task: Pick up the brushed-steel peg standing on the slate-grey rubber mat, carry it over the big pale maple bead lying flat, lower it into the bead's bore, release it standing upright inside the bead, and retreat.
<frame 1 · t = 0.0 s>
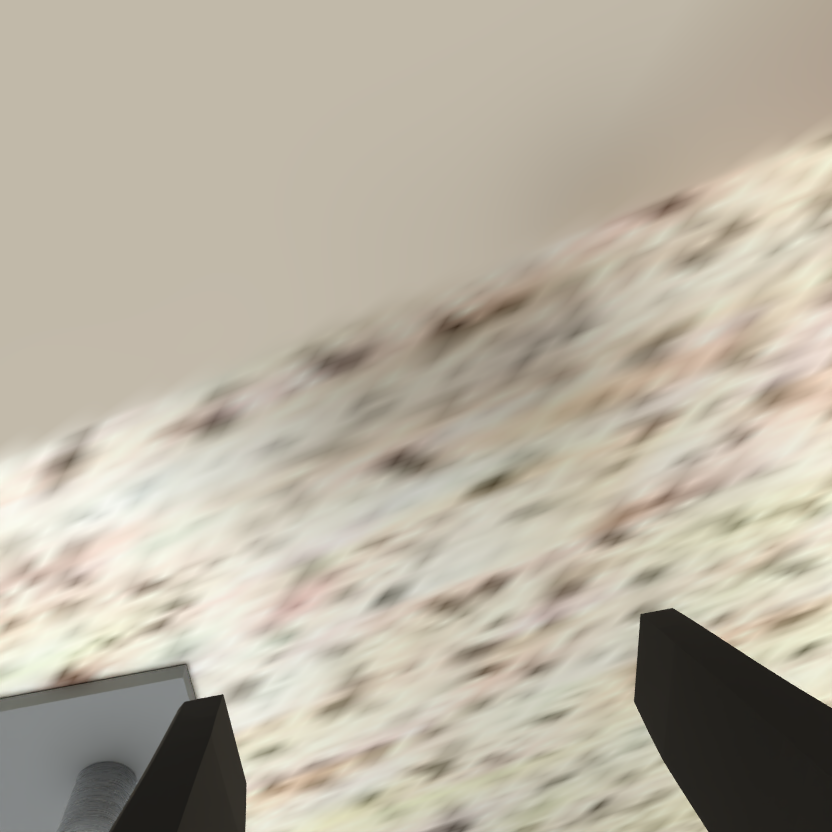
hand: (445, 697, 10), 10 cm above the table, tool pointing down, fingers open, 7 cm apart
steel peg: (106, 781, 22), point 1 cm above the table, touching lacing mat
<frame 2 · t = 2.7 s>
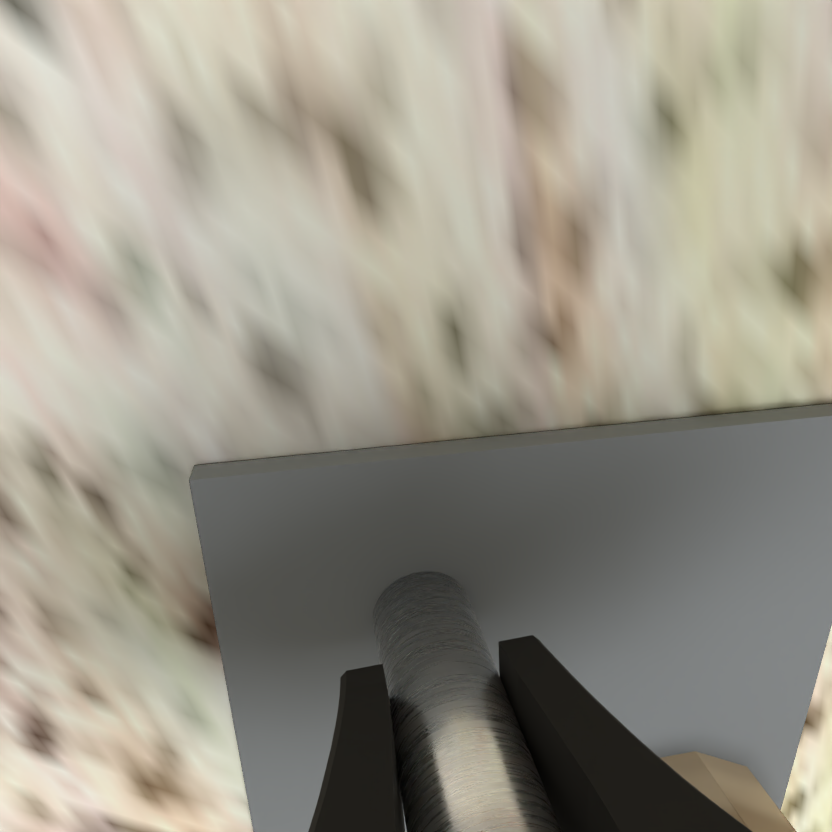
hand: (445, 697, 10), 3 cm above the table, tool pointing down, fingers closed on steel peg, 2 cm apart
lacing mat: (539, 743, 15), on the table
steel peg: (421, 612, 12), point 1 cm above the table, touching gripper, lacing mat
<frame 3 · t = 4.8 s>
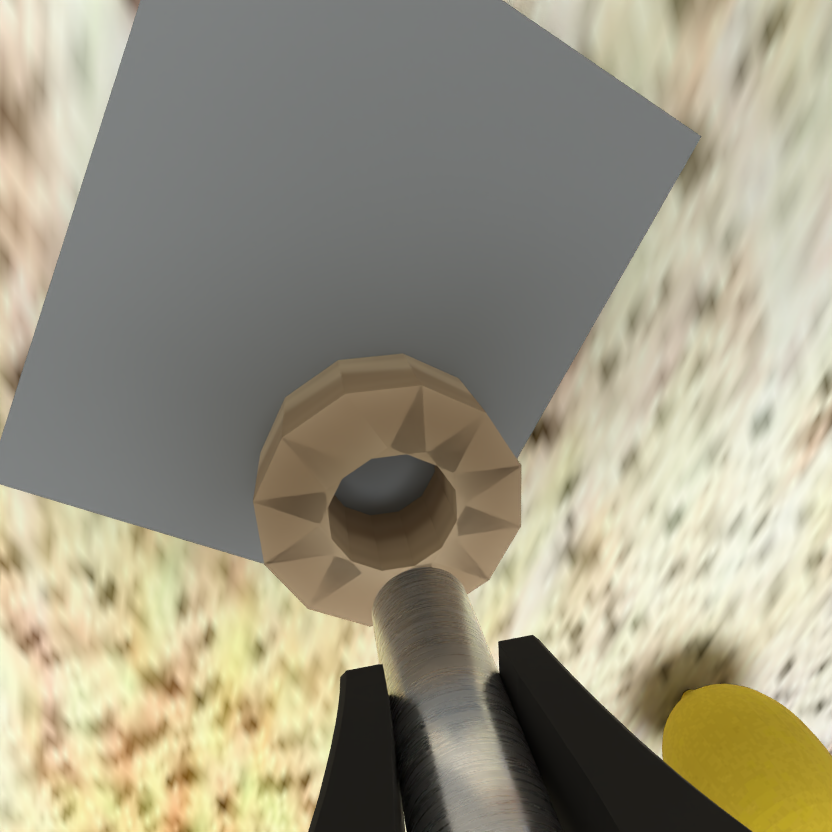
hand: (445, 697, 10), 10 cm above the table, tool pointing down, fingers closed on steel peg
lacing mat: (343, 304, 17), on the table
steel peg: (420, 608, 12), point 7 cm above the table, touching gripper
maple bead: (380, 465, 19), point 1 cm above the table, touching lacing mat
lemon: (684, 689, 26), on the table
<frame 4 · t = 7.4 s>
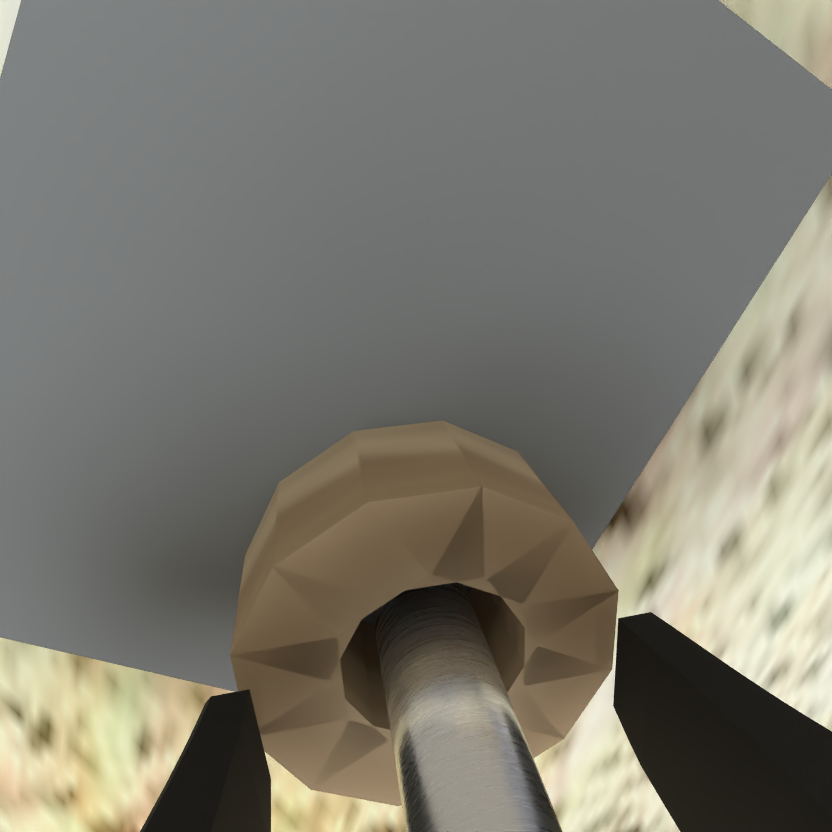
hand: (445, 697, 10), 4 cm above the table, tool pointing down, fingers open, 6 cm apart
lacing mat: (360, 352, 12), on the table
steel peg: (409, 566, 14), point 1 cm above the table, touching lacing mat
maple bead: (408, 567, 14), point 1 cm above the table, touching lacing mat
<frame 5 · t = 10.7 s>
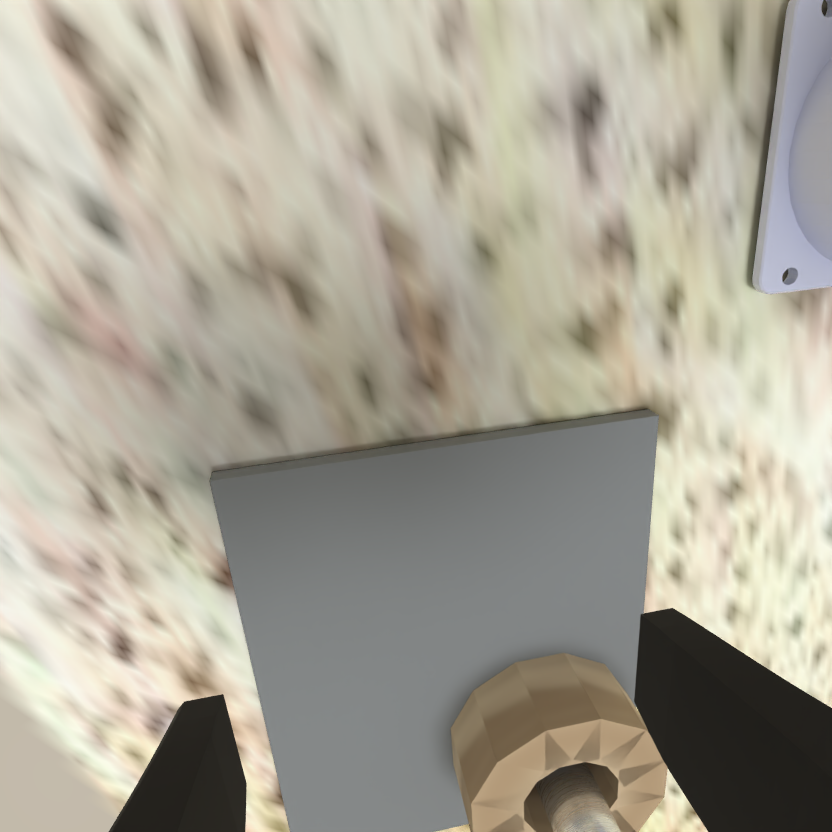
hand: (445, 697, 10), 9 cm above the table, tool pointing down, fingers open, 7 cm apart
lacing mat: (455, 650, 22), on the table
steel peg: (540, 727, 24), point 1 cm above the table, touching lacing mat
maple bead: (539, 727, 24), point 1 cm above the table, touching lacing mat
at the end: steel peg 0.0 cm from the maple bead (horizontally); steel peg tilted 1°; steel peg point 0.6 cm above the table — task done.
